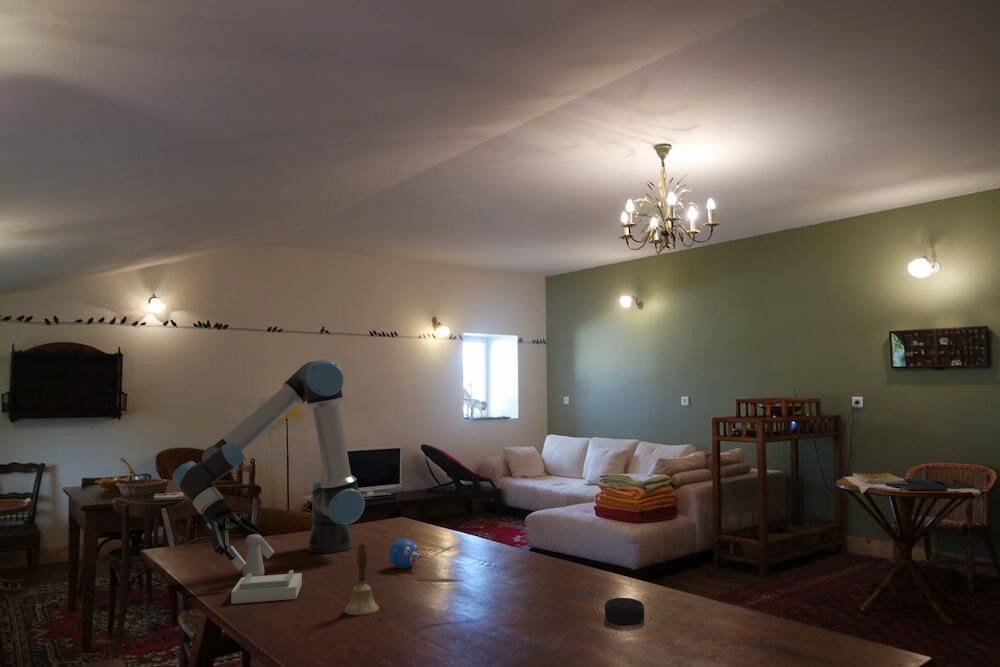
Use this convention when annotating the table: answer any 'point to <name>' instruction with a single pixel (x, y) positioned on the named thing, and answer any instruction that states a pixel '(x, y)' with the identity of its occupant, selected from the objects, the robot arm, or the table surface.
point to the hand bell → (361, 589)
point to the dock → (267, 588)
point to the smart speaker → (624, 611)
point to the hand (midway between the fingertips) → (257, 561)
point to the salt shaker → (254, 556)
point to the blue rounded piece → (404, 553)
